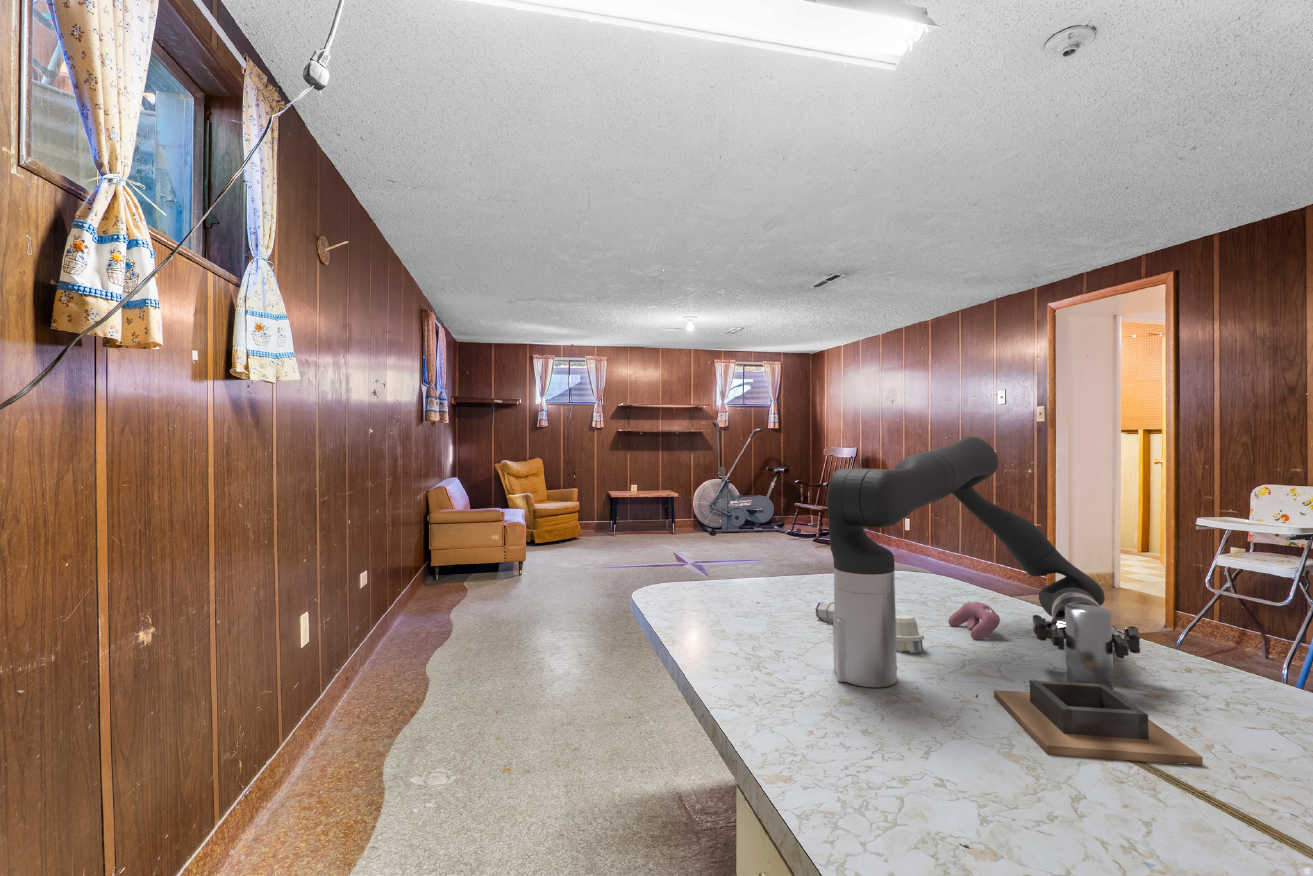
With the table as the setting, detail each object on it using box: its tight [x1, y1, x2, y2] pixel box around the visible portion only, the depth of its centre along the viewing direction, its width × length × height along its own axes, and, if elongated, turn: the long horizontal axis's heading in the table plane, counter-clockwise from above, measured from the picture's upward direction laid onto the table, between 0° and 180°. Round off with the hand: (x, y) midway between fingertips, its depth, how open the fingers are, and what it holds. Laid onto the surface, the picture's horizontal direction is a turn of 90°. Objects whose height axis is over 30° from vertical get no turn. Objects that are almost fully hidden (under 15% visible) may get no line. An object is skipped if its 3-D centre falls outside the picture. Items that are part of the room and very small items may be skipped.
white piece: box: [815, 601, 925, 653], centre depth 113 cm, size 5×7×25 cm
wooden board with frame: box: [993, 679, 1204, 766], centre depth 75 cm, size 16×16×4 cm
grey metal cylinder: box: [1065, 604, 1115, 691], centre depth 86 cm, size 6×6×12 cm
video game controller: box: [948, 600, 1001, 641], centre depth 114 cm, size 10×5×7 cm, turn 0°
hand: (1090, 647), depth 84 cm, fingers open, 6 cm apart
